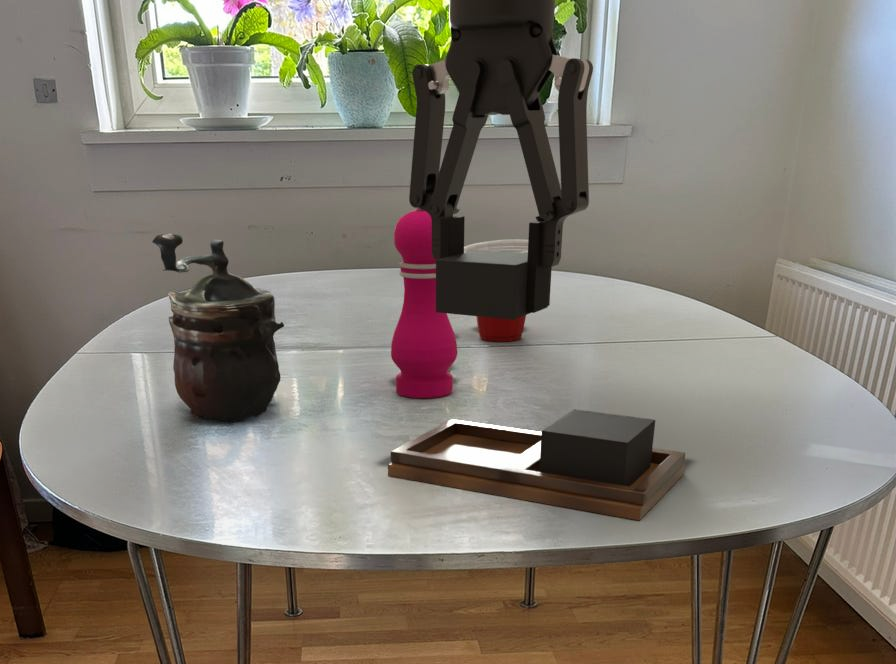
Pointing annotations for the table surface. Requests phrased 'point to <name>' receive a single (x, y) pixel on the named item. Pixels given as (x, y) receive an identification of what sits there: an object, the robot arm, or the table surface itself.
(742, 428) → the table surface
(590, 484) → the divided wooden tray
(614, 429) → the black square block
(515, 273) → the dark grey square block
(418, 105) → the robot arm
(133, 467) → the table surface
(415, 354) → the pepper mill
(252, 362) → the coffee grinder
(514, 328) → the plastic cup
